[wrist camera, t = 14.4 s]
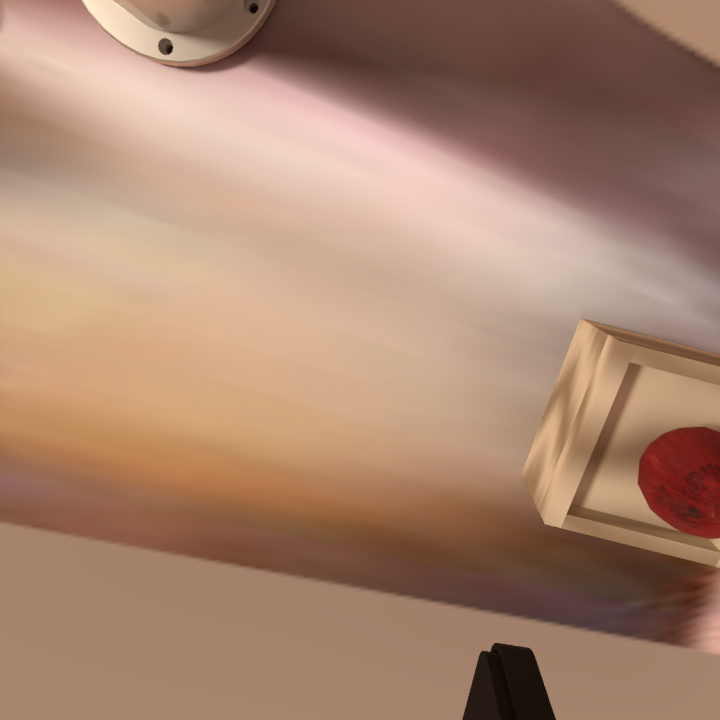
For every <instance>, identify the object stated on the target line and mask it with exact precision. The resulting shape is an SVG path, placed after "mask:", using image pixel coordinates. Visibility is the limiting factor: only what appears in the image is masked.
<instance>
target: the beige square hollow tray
mask: <svg viewBox="0 0 720 720" xmlns="http://www.w3.org/2000/svg"><path fill="white" fill-rule="evenodd" d="M685 427H706V428H709V429H712V430H715V431H718V432H720V354H716V353H712V352H708V351H704V350H700V349H697V348H693V347H689V346H685V345H681V344H677V343H673V342H670V341H666V340H662V339H658V338H654V337H650V336H646V335H643V334H639V333H635V332H631V331H627V330H623V329H619V328H616V327H612V326H608V325H604V324H600V323H596V322H592V321H589V320H585V319H580V321H579V324H578V326H577V329H576V332H575V334H574V337H573V340H572V342H571V345H570V348H569V350H568V353H567V356H566V358H565V361H564V363H563V366H562V369H561V371H560V374H559V377H558V379H557V382H556V385H555V387H554V390H553V393H552V395H551V398H550V400H549V403H548V406H547V408H546V411H545V414H544V416H543V419H542V422H541V424H540V427H539V430H538V432H537V435H536V437H535V440H534V443H533V445H532V448H531V451H530V453H529V456H528V459H527V461H526V464H525V467H524V469H523V472H522V474H521V477H522V479H523V481H524V483H525V485H526V487H527V489H528V491H529V493H530V495H531V497H532V499H533V501H534V503H535V505H536V507H537V509H538V511H539V513H540V515H541V517H542V519H543V521H544V523H545V524H547V525H551V526H555V527H559V528H563V529H567V530H571V531H575V532H579V533H583V534H587V535H591V536H595V537H599V538H603V539H607V540H611V541H615V542H619V543H623V544H627V545H631V546H635V547H639V548H643V549H647V550H651V551H655V552H659V553H663V554H667V555H671V556H675V557H679V558H683V559H687V560H691V561H695V562H699V563H703V564H707V565H711V566H715V567H719V568H720V538H718V539H706V538H702V537H698V536H694V535H691V534H687V533H683V532H681V531H679V530H677V529H675V528H673V527H672V526H670V525H669V524H668V523H666V522H665V521H664V520H662V519H661V518H659V517H658V516H657V515H656V514H655V513H654V512H653V511H652V510H651V509H650V508H649V506H648V504H647V502H646V500H645V498H644V496H643V494H642V492H641V490H640V488H639V485H638V472H639V461H640V458H641V456H642V454H643V453H644V451H645V450H646V448H647V447H648V445H649V444H650V443H651V442H653V441H654V440H655V439H656V438H658V437H659V436H660V435H662V434H663V433H666V432H669V431H671V430H674V429H677V428H685Z"/></svg>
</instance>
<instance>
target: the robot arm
mask: <svg viewBox="0 0 720 720" xmlns="http://www.w3.org/2000/svg"><path fill="white" fill-rule="evenodd" d="M81 1H82V3H83V4H84V6H85V8H86V9H87V11H88V12H89V14H90V15H91V16H92V17H93V18H94V19H95V21H96V22H97V23H98V24H99V25H100V26H101V28H102V29H103V30H104V31H105V32H107V33H108V34H109V35H110V36H111V37H113V38H114V39H115V40H116V41H118V42H119V43H120V44H121V45H123V46H124V47H126V48H128V49H129V50H131V51H133V52H134V53H136V54H138V55H140V56H142V57H145V58H147V59H149V60H152V61H154V62H156V63H161V64H166V65H171V66H176V67H189V66H200V65H204V64H209V63H213V62H216V61H218V60H220V59H222V58H225V57H227V56H229V55H231V54H233V53H234V52H236V51H237V50H238V49H240V48H241V47H242V46H243V45H245V44H246V43H247V42H249V41H250V40H251V38H252V37H253V36H254V35H255V34H256V33H257V32H258V30H259V29H260V28H261V27H262V26H263V24H264V23H265V21H266V19H267V17H268V16H269V14H270V12H271V11H272V9H273V7H274V5H275V2H276V0H81ZM253 6H257V7H258V11H257V12H256V13H255V14H252V13H251V9H252V7H253ZM172 46H173V51H172V53H171V54H168V48H169V47H172ZM463 720H556V719H555V716H554V713H553V710H552V707H551V704H550V701H549V698H548V695H547V692H546V689H545V686H544V683H543V680H542V677H541V674H540V671H539V668H538V665H537V662H536V659H535V656H534V654H533V652H532V650H531V649H530V648H526V647H520V646H513V645H506V644H500V643H494V645H493V646H492V649H491V651H490V652H488V651H482V652H481V653H480V656H479V659H478V663H477V666H476V670H475V674H474V678H473V682H472V685H471V689H470V693H469V697H468V701H467V705H466V708H465V712H464V716H463Z"/></svg>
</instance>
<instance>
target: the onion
mask: <svg viewBox="0 0 720 720" xmlns="http://www.w3.org/2000/svg"><path fill="white" fill-rule="evenodd" d="M638 485H639V488H640V490H641V492H642V494H643V496H644V498H645V500H646V502H647V504H648V506H649V508H650V509H651V510H652V511H653V512H654V513H655V514H656V515H657V516H658V517H659V518H661V519H662V520H664V521H665V522H666V523H668V524H669V525H670V526H672V527H673V528H675V529H677V530H679V531H681V532H683V533H687V534H691V535H694V536H698V537H702V538H706V539H718V538H720V432H718V431H715V430H712V429H709V428H706V427H685V428H677V429H674V430H671V431H669V432H666V433H663V434H662V435H660V436H659V437H658V438H656V439H655V440H654V441H653V442H651V443H650V444H649V445H648V447H647V448H646V450H645V451H644V453H643V454H642V456H641V458H640V461H639V472H638Z"/></svg>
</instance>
